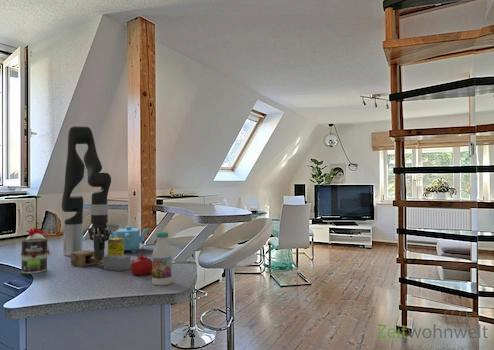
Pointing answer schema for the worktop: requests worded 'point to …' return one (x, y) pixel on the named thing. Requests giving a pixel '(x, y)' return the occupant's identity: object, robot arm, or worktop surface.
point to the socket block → (81, 258)
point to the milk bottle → (162, 261)
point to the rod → (97, 252)
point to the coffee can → (34, 256)
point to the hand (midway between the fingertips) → (99, 249)
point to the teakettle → (130, 237)
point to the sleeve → (117, 262)
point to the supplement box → (116, 246)
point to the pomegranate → (141, 265)
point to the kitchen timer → (36, 236)
